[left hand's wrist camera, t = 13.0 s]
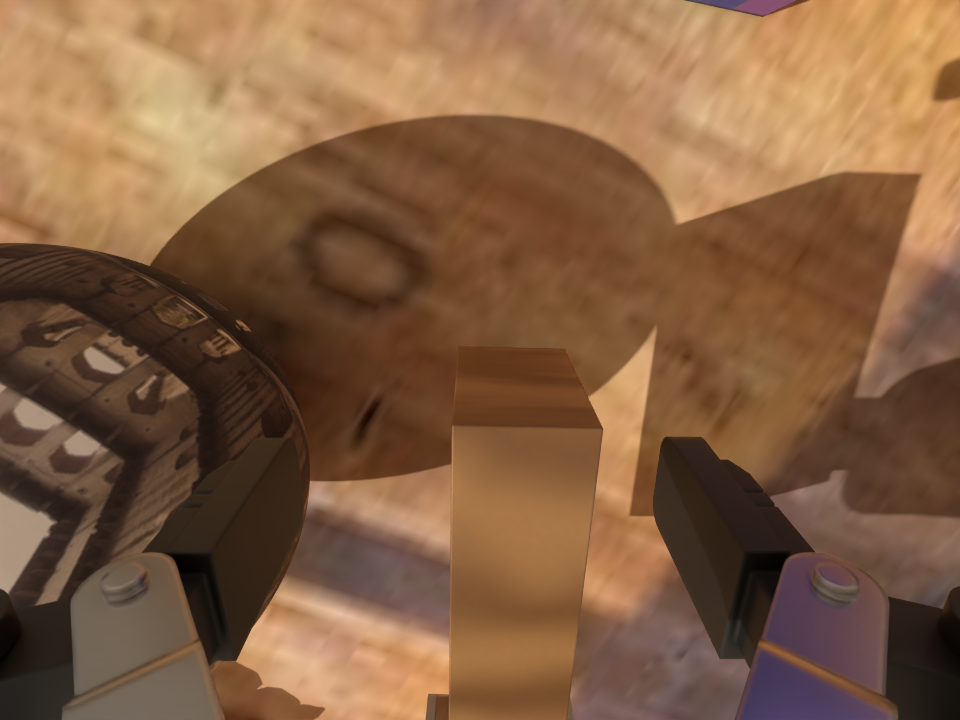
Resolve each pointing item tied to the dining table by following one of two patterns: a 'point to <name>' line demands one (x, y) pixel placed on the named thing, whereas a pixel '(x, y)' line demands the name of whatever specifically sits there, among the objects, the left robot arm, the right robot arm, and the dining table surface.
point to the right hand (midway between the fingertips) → (499, 701)
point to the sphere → (117, 411)
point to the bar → (518, 531)
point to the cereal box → (747, 5)
